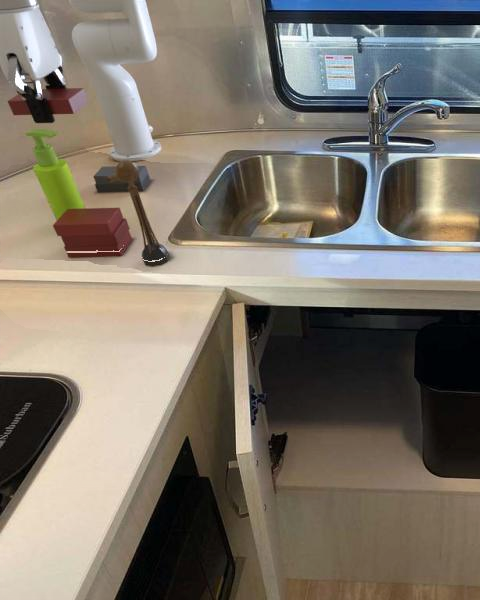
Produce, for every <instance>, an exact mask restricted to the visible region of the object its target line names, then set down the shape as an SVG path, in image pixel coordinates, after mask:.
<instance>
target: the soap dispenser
mask: <svg viewBox="0 0 480 600" xmlns="http://www.w3.org/2000/svg"><path fill="white" fill-rule="evenodd" d="M25 135H26V136H27V137H32V139H33V142H34V145H35V146H34V147H33V148H32V152H33V154H34V156H35V158H36V161H37V163H36V164H35V165H34V166H33V167H32V168H33V169H32V170H33V172H34V174H35V176H36V178H37V180H38V183H39V186H40V188H41V189H42V191H43V194H44V196H45V198H46V200H47V202H48V205H49V207H50V208H51V211H52V213H53V216H54V217H55V221H57V220H58V219H59V218H60V217H61V216H62V214H63V213H64V212H65V211H66V210H67V209H84V208H86V206H85V204H84V202H83V199H82V196H81V194H80V192H79V189H78V187H77V184H76V182H75V180H74V177H73V174H72V172H71V170H70V167H69V164H68V162H67V160H66V159H62V158H58V156H57V153H56V152H55V149H54V147H53V145H51V144H48V143H46V140H45V138H48V139H51V138H53V137H55V136H57V135H58V132H57V131H54V130H51V129H47V128H46V129H45V128H34V129H31V130H28V131H26V132H25Z"/></svg>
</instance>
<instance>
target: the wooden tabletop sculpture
mask: <svg viewBox="0 0 480 600" xmlns="http://www.w3.org/2000/svg"><path fill="white" fill-rule="evenodd" d="M115 166H116V168H115V174H112V175H109V176H107V177H106V178H107V180H108V182H113V181H115V180H119V181H121V182H123V183H128V184H129V187H128V188H127V189H128V190H129V192H128V193H129V195H130V198H131V201H132V203H133V204H132V205H133V206H134V210H135V213H136V216H137V218H138V223H139V226H140V230H141V235H142V240H143V247H144V248H143V249H142V252H141V258H142V257H143V258H142V262H143V263H144V265H145V267H151V268H152V267H158V266H162V265H164V264H166V263H168V262H169V261H170V258H171V255H170V253H169V251H168V250H167V248H166V247H165V245H163V244H161V243H160V242H159V241H158V239H157V237H156V235H155V233H154V231H153V228H152V226H151V224H150V221H149V218H148V216H147V213H146V211H145V208H144V205H143V201H142V199H141V197H140V191H138V190H137V186H135V185H134V184H133V181H135V180H136V179H137V177H138V175H139V170H138V168H137V166H138V165H137V164H136V163H135V161H129V160H123V161H118V163H117V164H116V165H115ZM167 254H168V255H167ZM164 257H165V258H164ZM161 258H163V259H162V260H160V261H155V262H148V261H152V260H159V259H161ZM143 259H144V260H148V261H144V260H143Z"/></svg>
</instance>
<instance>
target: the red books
mask: <svg viewBox="0 0 480 600" xmlns="http://www.w3.org/2000/svg"><path fill="white" fill-rule="evenodd" d="M52 226H53V229H54V232H55V233H56V235H57V237H60V238H61V240H62V243H63V244H64V246H63V248H64V250H65V252H66V251H96V250H98V251H113V250H114V251H119V250H120V249H121V248H122V249H121V250H120V252H97V253H66V255H67V257H68V258H102V257H103V258H105V257H122V255H123V254H124V252H125V251H126V249H127V248H128V247H129V245H130V243H131V242H132V239H133V237H132V234H131V232H130V229H131V228H130V225H129V223H128V220H127V218H125V217H124V216H123V213H122V210H121V208H120V207H89V208H86V207H85V208H84V209H67V210H66V211H65V212H64V213H63V214H62V216H61V217H60V218H59V219H58V220H55V222H54V223H53V224H52ZM123 245H124V246H123Z"/></svg>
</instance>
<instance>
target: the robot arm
mask: <svg viewBox="0 0 480 600" xmlns="http://www.w3.org/2000/svg"><path fill="white" fill-rule="evenodd" d="M68 2H69V5H70V6H71V8H72V9H73V10H74V11H77V12H78V13H82V14H107V13H124V14H125V16H126V18H106V19H90V20H85V21H81V22H79V23H76V25H75V26H74V27H73V28H72V30H71V40H72V43H73V46H74V48H75V51H76V53H77V54H78V56H79V58H80V60H81V62H82V63H83V65H84V68H85V70H86V72H87V74H88V76H89V80H90V82H91V84H92V88H93V90H94V93H95V97H96V99H97V102H98V105H99V108H100V111H101V113H102V116H103V119H104V122H105V125H106V128H107V130H108V133H109V137H110V139H111V142H112V145H113V146H112V147H111V149H110V150H109V153H108V154H109V156H110V158H111V159H112V160H114V161H118V162H121V161H123V160H129V161H132V162H138V161H143V160H147V159H150V158H152V157H154V156H156V155H158V154H159V153H160V152H161V150H162V145H161V143H160V142H159V141H157V140H155V139H153V136H152V132H153V131H154V128H153V126H152V125H150V124H149V123H148V119H147V117H146V113H145V110H144V106H143V102H142V99H141V97H140V93H139V90H138V86H137V83H136V81H135V78H133V76H132V75H131V74H130V73H129V71H127V70H126V69H125V68H124V67H123V66H122V65H127V64H140V63H150V62H152V61H154V60H155V59H156V58H157V54H158V48H157V47H158V46H157V42H156V41H157V40H156V37H155V33H154V29H153V24H152V20H151V17H150V13H149V9H148V5H147V2H146V0H68ZM40 7H41V6H40V4H39V1H38V0H0V68H1V72H2V73H3V75H4V77H5V78H6V80H7V84H8V86H9V87H11V88H12V89H13V90H14V91H15V92H16V93H17V95H18V94H20V95H21V97H22V99H23V100H25V101H26V103H27V106H28V108H29V110H30V113H31V115H30V116H31V118H32V119H33V122H34V123H35V124H53V123H55V122H56V119H55V116H54V114H52V111H51V109H50V106H49V104H48V101H47V99H46V98H43V96H42V90H41V89H42V84H41V80H42V79H43V80H44V82H45V83H46V85H45V86H44V87H45V89H64V88H67V86H66V78H65V77H64V76H63V73H64V69H63V57H62V55H61V54H60V53H59V51H58V48H57V46H56V43H55V40H54V37H53V35H52V33H51V31H50V29H49V26H48V24H47V22H46V20H45V18H44V15H43V14H42V12H41V9H40ZM25 76H29V78H25ZM28 84H32V86H33V88H32V87H31V86H30V85H28ZM33 89H34V90H33Z"/></svg>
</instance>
